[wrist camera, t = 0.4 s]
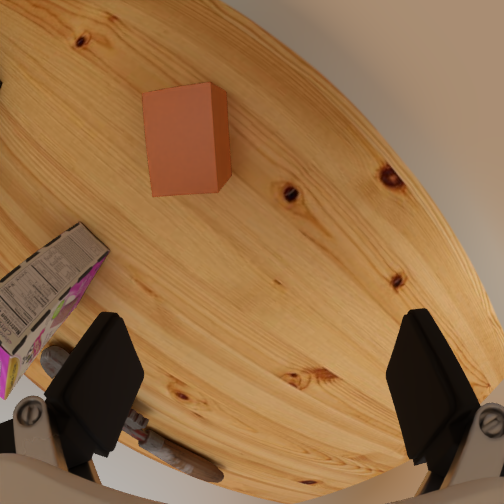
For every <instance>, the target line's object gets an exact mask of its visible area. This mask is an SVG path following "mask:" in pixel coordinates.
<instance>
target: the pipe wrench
mask: <svg viewBox="0 0 504 504" xmlns="http://www.w3.org/2000/svg"><path fill="white" fill-rule="evenodd" d="M69 355H70V354H69V353H67V352H66V351H65V350H64V349H62V348H60V347H58V346H51V347H48V348H46V349H44V350H43V352H42V354H41V359H40V362H41V365H42V367H43V369H44V370H45V372H46V373H47V374H48V375H49V376H50V377H51V378H52V379H53V378H54V377H55V376H56V374H57V373H58V371H59V370H60V368H61V367H62V365H63V364H64V362H65V361H66V360H67V358H68V357H69ZM148 421H149V419H147V418H144V417H143V415H141V414H138V413H137V412H136V411H135V410H134V409H130V411H129V414H128V416H127V419H126V421H125V424H124V426H123V428H122V430H123V431H124V432H126V433H127V434H129V435H131V436H132V437H134V438H135V439H137V440H139V441H138V444H139V446H140V447H142V448H143V449H145V450H147V451H149V452H150V453H152V454H154V455H155V456H157V457H158V458H160V459H162V460H163V461H165V462H166V463H168V464H170V465H172V466H173V467H175V468H177V469H179V470H181V471H183V472H185V473H186V474H188V475H190V476H193V477H195V478H198V479H201V480H204V481H207V482H216V483H218V482H221V481H222V480H223V478H224V475H223V472H222V471H220V470H219V469H218V468H217V467H216V466H215V465H214V464H212V463H210V462H209V461H207V460H206V459H204V458H202V457H200V456H198V455H196V454H194V453H192V452H190V451H188V450H186V449H184V448H182V447H180V446H178V445H176V444H174V443H172V442H170V441H168V440H166V439H164V438H163V437H161V436H159V435H158V434H156V433H154V432H153V431H151V430H146V431H143V430H142V429H143V428H145V427H146V426H147V424H148Z"/></svg>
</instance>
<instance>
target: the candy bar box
mask: <svg viewBox="0 0 504 504" xmlns="http://www.w3.org/2000/svg"><path fill="white" fill-rule="evenodd" d="M109 252H110V250H109V249H108V248H107V247H106V246H105V245H104V244H103V243H102V242H101V241H100V240H98V239H97V238H96V237H95V236H94V235H93V234H92V233H91V232H90V231H89V230H88V229H87V228H86V227H85V226H84V225H83V224H82V223H81V222H78V223H77V224H75V225H74V226H72V227H71V228H69V229H68V230H66V231H65V232H63V233H62V234H60V235H59V236H58V237H56V238H55V239H53V240H52V241H51V242H49V243H48V244H46V245H45V246H44V247H42V248H41V249H39V250H38V251H37V252H35V253H34V254H33V255H32V256H30V257H29V258H27V259H26V260H25V261H24V262H22V263H21V264H20V265H18V266H17V267H16V268H15V269H13V270H12V271H11V272H9V273H8V274H7V275H6V276H5V277H3V278H2V279H1V280H0V397H1V398H2V399H4V400H6V399H7V397H8V396H9V394H10V393H11V391H12V390H13V388H14V387H15V385H16V383H17V382H18V381H19V379H20V378H21V376H22V375H23V374H24V373H25V371H26V370H27V368H28V367H29V366H30V364H31V363H32V362H33V360H34V359H35V357H36V356H37V355H38V353H39V352H40V351H41V349H42V348H43V347H44V346H45V344H46V343H47V342H48V341H49V339H50V338H51V337H52V335H53V334H54V333H55V332H56V330H57V329H58V328H59V327H60V325H61V324H62V323H63V322H64V321H65V319H66V318H67V317H68V316H69V315H70V313H71V312H72V311H73V310H74V309H75V308H76V306H77V305H78V303H79V301H80V299H81V297H82V296H83V294H84V292H85V290H86V289H87V287H88V285H89V284H90V282H91V280H92V279H93V277H94V275H95V274H96V272H97V270H98V269H99V267H100V266H101V264H102V262H103V261H104V259H105V258H106V256H107V255H108V253H109Z"/></svg>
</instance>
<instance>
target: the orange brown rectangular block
mask: <svg viewBox="0 0 504 504" xmlns="http://www.w3.org/2000/svg"><path fill="white" fill-rule="evenodd" d="M142 103H143V117H144V129H145V139H146V149H147V158H148V167H149V175H150V182H151V190H152V197H160V196H173V195H187V194H203V193H218V192H219V191H220V190H221V188H222V187H223V186H224V185H225V183H226V182H227V181H228V179H229V178H230V177H231V176H232V171H231V156H230V141H229V125H228V109H227V92H226V91H224V90H223V89H221V88H220V87H218V86H216V85H215V84H213V83H211V82H205V83H198V84H190V85H184V86H177V87H171V88H166V89H160V90H155V91H150V92H145V93H142Z"/></svg>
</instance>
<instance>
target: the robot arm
mask: <svg viewBox="0 0 504 504" xmlns="http://www.w3.org/2000/svg"><path fill="white" fill-rule="evenodd" d="M143 378H144V370H143V368H142V365H141V363H140V361H139V358H138V356H137V353H136V351H135V349H134V346H133V344H132V341H131V339H130V336H129V334H128V331H127V328H126V326H125V323H124V320H123V319H122V318H121V317H119V315H118V314H117V313H113V312H101V313H100V314H99V315H98V316H97V318H96V319H95V320H94V322H93V323H92V324H91V326H90V327H89V329H88V330H87V331H86V333H85V334H84V335H83V337H82V338H81V340H80V341H79V342H78V344H77V345H76V347H75V348H74V349H73V351H72V352H71V354H70V355H69V357H68V358H67V360H66V361H65V362H64V364H63V365H62V367H61V368H60V370H59V371H58V373H57V374H56V376H55V377H54V379H53V380H52V382H51V384H50V385H49V387H48V388H47V390H46V391H45V393H44V395H45V396H46V400H45V402H44V400H43V399H42V398H40V397H38V396H28V397H26V398H24V399H22V400H21V401H20V402H19V403H18V405H17V406H16V407H15V410H14V412H13V419H11V420H8V421H6V422H3V423H0V504H166V503H162V502H157V501H153V500H149V499H145V498H141V497H138V496H134V495H131V494H127V493H124V492H121V491H118V490H115V489H112V488H109V487H106V486H103V485H102V484H101V481H100V479H99V476H98V474H97V471H96V469H95V466H94V463H93V461H92V455H93V453H95V454H98V455H101V456H104V457H108V455H109V452H110V451H113V450H114V448H115V446H116V443H117V441H118V438H119V436H120V433H121V431H122V428H123V426H124V424H125V421H126V419H127V416H128V414H129V411H130V409H131V407H132V404H133V402H134V400H135V397H136V395H137V393H138V390H139V388H140V386H141V383H142V381H143ZM386 380H387V383H388V386H389V390H390V393H391V396H392V400H393V403H394V406H395V410H396V413H397V417H398V420H399V424H400V428H401V431H402V435H403V439H404V443H405V447H406V451H407V455H408V457H409V459H413V462H414V466H415V465H419V464H422V463H426V462H427V466H428V470H429V471H428V473H427V475H426V476H425V478H424V480H423V482H422V484H421V485H420V487H419V489H418V491H417V493H416V494H415V496H414V497H412V498H408V499H404V500H401V501H396V502H391V503H387V504H504V407H503V406H501V405H499V404H496V403H487V404H485V405H483V406H480V404H479V402H478V399H477V397H476V395H475V393H474V391H473V389H472V387H471V385H470V383H469V381H468V379H467V377H466V375H465V373H464V372H463V370H462V368H461V366H460V364H459V362H458V360H457V359H456V357H455V355H454V353H453V351H452V350H451V348H450V346H449V344H448V343H447V341H446V339H445V338H444V336H443V334H442V332H441V331H440V329H439V327H438V326H437V324H436V323H435V321H434V319H433V318H432V316H431V314H430V313H429V311H428V310H427V309H425V308H422V309H413V310H409V312H408V314H407V315H404V316H403V319H402V323H401V326H400V330H399V333H398V336H397V340H396V343H395V346H394V349H393V352H392V355H391V358H390V361H389V364H388V367H387V370H386Z"/></svg>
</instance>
